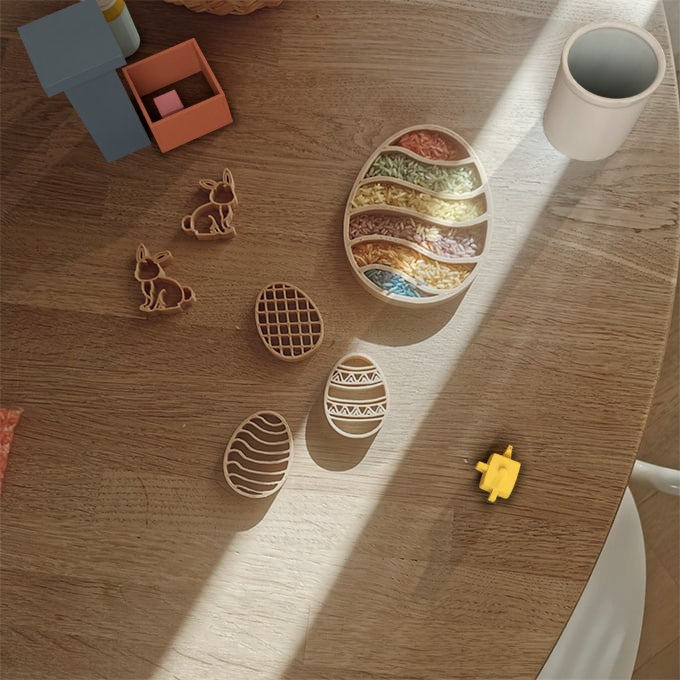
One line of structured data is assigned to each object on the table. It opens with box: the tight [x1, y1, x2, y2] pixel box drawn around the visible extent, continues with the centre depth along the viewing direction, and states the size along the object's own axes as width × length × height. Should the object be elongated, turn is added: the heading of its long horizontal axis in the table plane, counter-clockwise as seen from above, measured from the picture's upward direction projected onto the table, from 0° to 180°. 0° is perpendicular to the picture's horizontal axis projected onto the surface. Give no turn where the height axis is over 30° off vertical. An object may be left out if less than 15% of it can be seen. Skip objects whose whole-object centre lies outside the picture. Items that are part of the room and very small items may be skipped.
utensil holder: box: [542, 18, 667, 162], centre depth 115 cm, size 15×15×18 cm
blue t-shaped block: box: [16, 0, 152, 164], centre depth 116 cm, size 12×12×24 cm
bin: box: [121, 37, 234, 154], centre depth 124 cm, size 13×13×8 cm
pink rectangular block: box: [153, 89, 185, 119], centre depth 126 cm, size 4×4×4 cm
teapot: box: [474, 444, 521, 503], centre depth 102 cm, size 8×6×5 cm
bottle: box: [79, 0, 141, 59], centre depth 127 cm, size 7×7×15 cm
